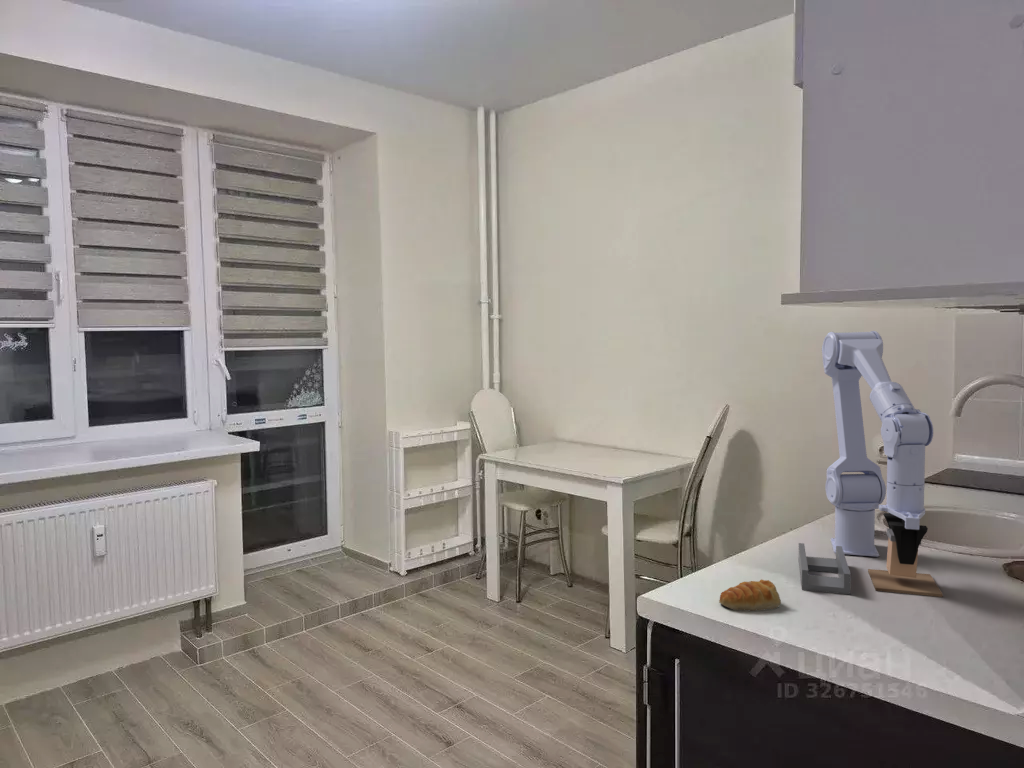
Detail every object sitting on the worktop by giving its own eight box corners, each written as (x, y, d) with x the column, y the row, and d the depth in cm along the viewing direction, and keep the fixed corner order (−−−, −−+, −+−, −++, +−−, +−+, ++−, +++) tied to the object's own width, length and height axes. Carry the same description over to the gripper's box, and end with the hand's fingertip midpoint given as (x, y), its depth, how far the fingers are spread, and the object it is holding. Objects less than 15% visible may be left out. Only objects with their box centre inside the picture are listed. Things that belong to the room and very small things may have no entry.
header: (798, 560, 137) (798, 543, 137) (841, 564, 134) (841, 546, 134) (801, 589, 122) (802, 569, 122) (850, 594, 120) (850, 574, 119)
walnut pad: (868, 571, 130) (868, 568, 130) (930, 576, 127) (930, 574, 127) (875, 590, 121) (875, 587, 121) (942, 597, 117) (942, 594, 117)
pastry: (732, 616, 112) (732, 593, 112) (710, 601, 119) (710, 579, 118) (784, 609, 114) (784, 586, 114) (760, 595, 121) (760, 573, 121)
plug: (884, 566, 127) (886, 528, 126) (913, 570, 125) (916, 531, 125) (888, 574, 122) (891, 535, 122) (918, 578, 121) (921, 538, 120)
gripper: (873, 473, 131) (872, 545, 132) (885, 490, 117) (884, 570, 118) (917, 474, 128) (915, 548, 129) (934, 492, 115) (932, 574, 116)
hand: (903, 559), depth 124 cm, fingers closed on plug, 4 cm apart
